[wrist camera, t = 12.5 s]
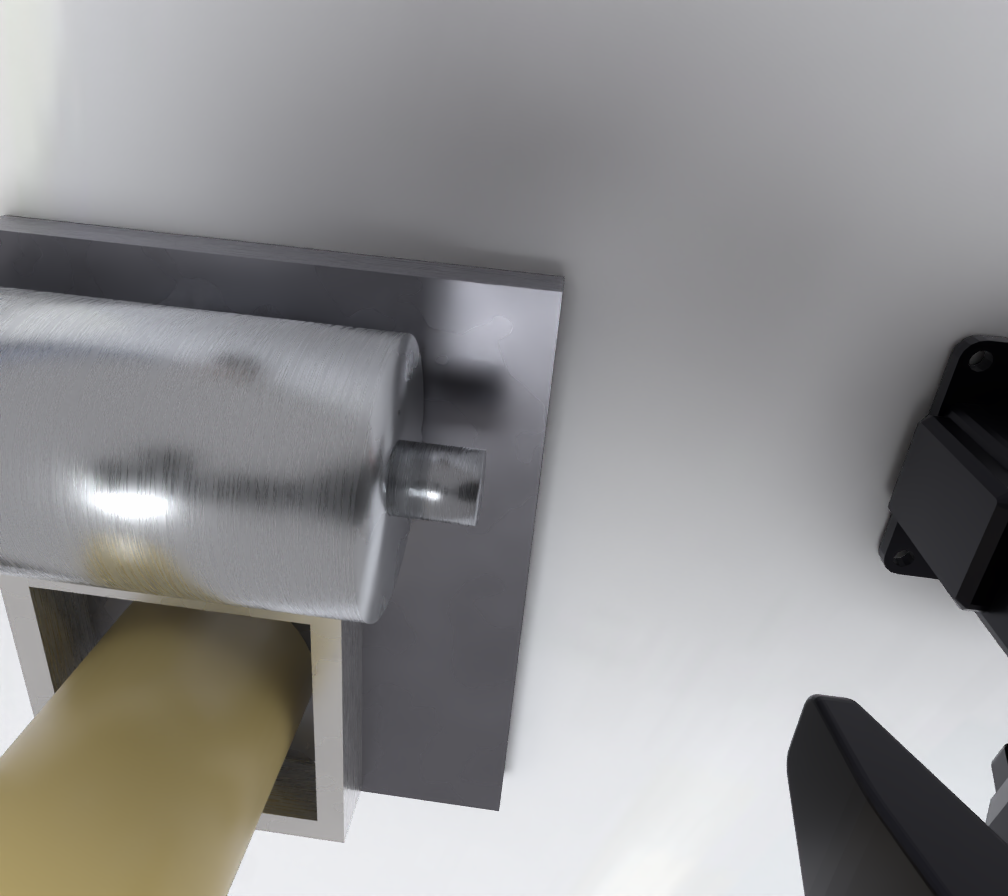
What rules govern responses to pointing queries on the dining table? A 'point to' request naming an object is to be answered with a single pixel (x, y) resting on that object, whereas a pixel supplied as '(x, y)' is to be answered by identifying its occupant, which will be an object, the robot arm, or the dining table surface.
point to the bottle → (153, 757)
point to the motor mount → (283, 482)
